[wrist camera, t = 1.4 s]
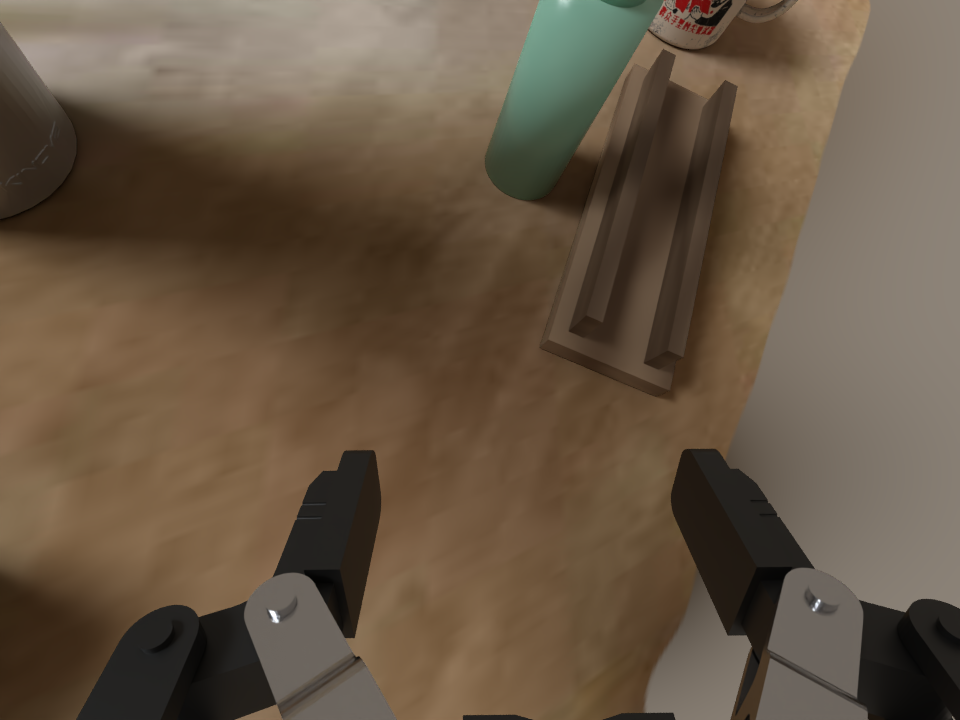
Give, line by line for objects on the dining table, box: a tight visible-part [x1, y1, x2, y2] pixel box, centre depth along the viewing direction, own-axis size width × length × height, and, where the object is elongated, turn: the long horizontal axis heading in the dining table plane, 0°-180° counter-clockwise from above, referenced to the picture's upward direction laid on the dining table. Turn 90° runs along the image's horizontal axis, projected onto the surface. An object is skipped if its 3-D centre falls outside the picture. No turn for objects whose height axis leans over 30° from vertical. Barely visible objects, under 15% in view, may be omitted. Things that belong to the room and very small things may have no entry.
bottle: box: [485, 0, 664, 200], centre depth 25 cm, size 5×5×20 cm
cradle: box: [540, 49, 737, 396], centre depth 33 cm, size 8×24×4 cm, turn 161°
